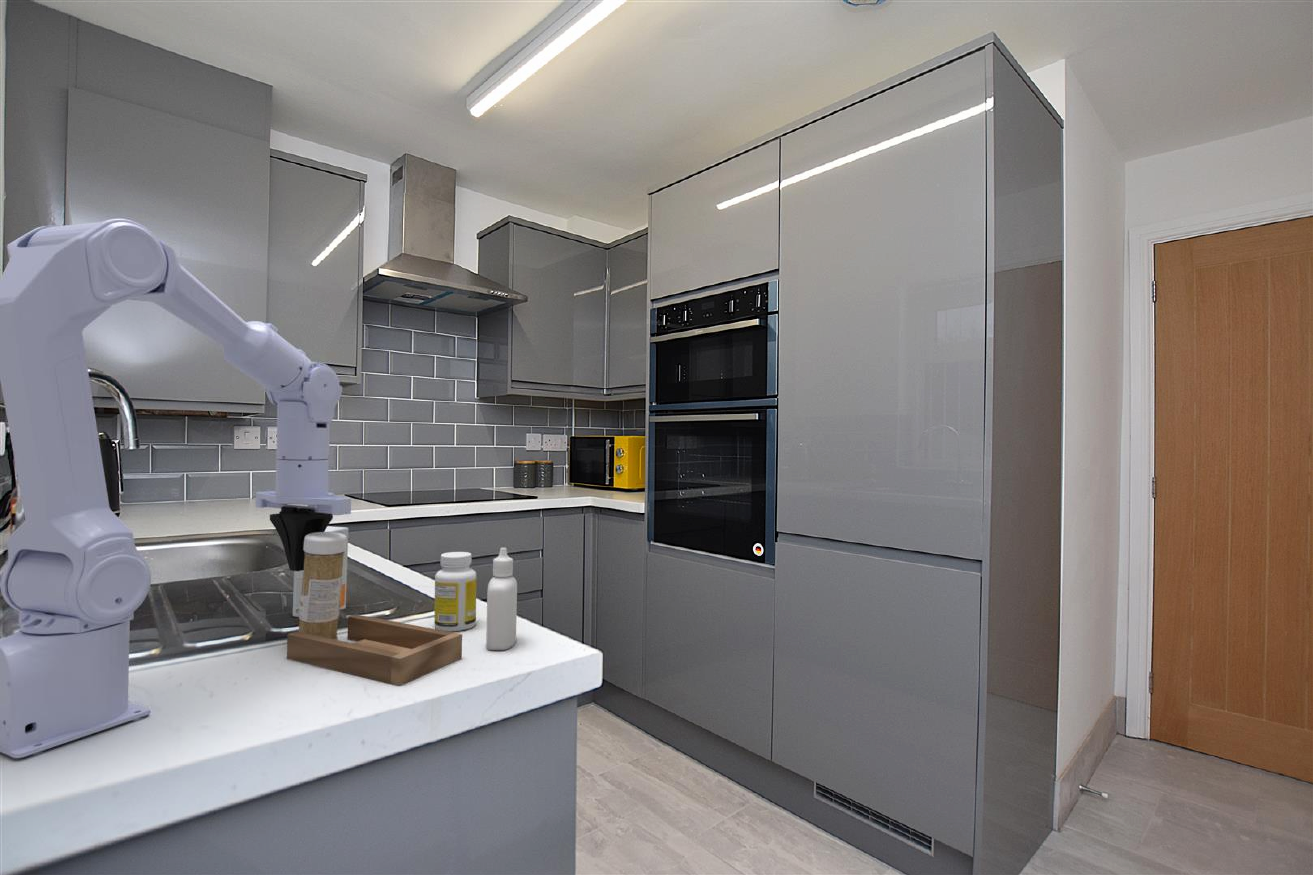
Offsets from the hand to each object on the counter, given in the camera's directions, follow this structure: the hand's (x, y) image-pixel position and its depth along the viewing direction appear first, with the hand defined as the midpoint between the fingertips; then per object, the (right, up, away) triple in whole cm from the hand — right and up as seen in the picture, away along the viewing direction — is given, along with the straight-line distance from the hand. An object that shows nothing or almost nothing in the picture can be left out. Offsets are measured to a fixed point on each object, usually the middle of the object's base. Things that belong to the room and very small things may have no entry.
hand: (300, 569), depth 80 cm
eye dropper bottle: (+25, -10, +1) cm, 26 cm away
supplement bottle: (+17, -10, +8) cm, 21 cm away
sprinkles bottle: (+3, -9, -1) cm, 9 cm away
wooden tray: (+11, -9, -5) cm, 15 cm away
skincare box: (-4, -9, +13) cm, 16 cm away
